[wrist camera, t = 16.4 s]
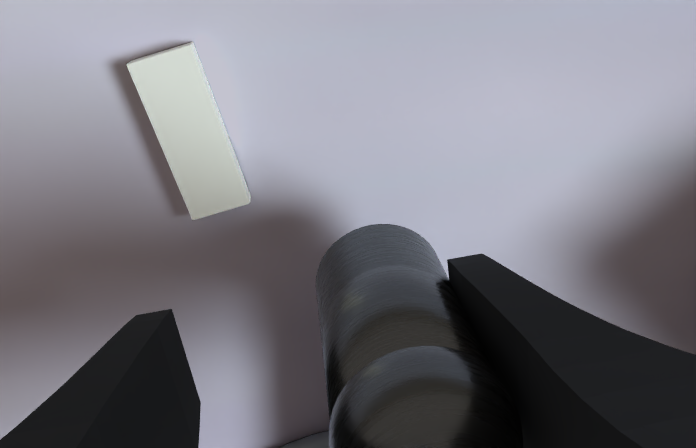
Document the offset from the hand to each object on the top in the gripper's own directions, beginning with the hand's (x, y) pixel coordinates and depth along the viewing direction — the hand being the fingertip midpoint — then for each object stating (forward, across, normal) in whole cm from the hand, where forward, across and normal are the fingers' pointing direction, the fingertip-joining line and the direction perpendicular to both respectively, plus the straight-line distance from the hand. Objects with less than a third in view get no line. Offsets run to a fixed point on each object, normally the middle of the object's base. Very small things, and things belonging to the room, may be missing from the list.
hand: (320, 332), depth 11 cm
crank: (+3, 0, +10) cm, 10 cm away
